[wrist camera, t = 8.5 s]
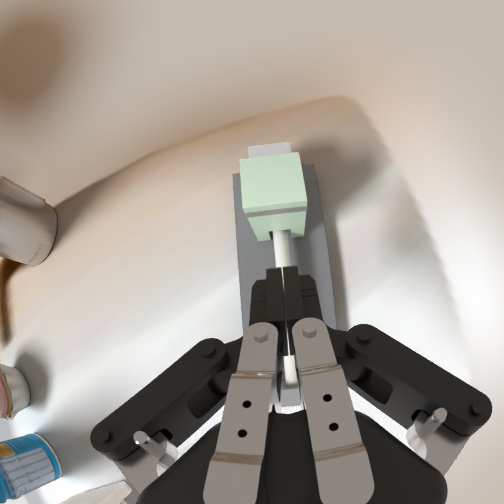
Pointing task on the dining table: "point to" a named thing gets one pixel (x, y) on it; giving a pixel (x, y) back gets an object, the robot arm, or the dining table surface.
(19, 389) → the cupcake
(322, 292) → the grey slide rail
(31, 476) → the beverage bottle
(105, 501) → the white plastic stand
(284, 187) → the notched mint block
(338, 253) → the dining table surface
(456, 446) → the robot arm
